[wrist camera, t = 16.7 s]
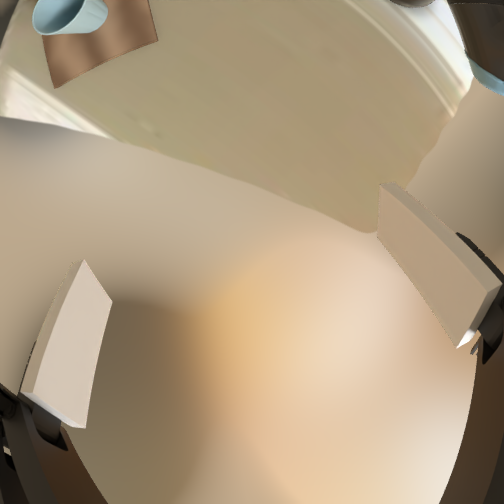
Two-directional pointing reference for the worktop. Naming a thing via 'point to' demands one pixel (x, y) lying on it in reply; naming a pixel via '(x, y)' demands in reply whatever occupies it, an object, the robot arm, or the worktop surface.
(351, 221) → the worktop surface
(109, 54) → the board
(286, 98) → the worktop surface
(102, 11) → the cup
